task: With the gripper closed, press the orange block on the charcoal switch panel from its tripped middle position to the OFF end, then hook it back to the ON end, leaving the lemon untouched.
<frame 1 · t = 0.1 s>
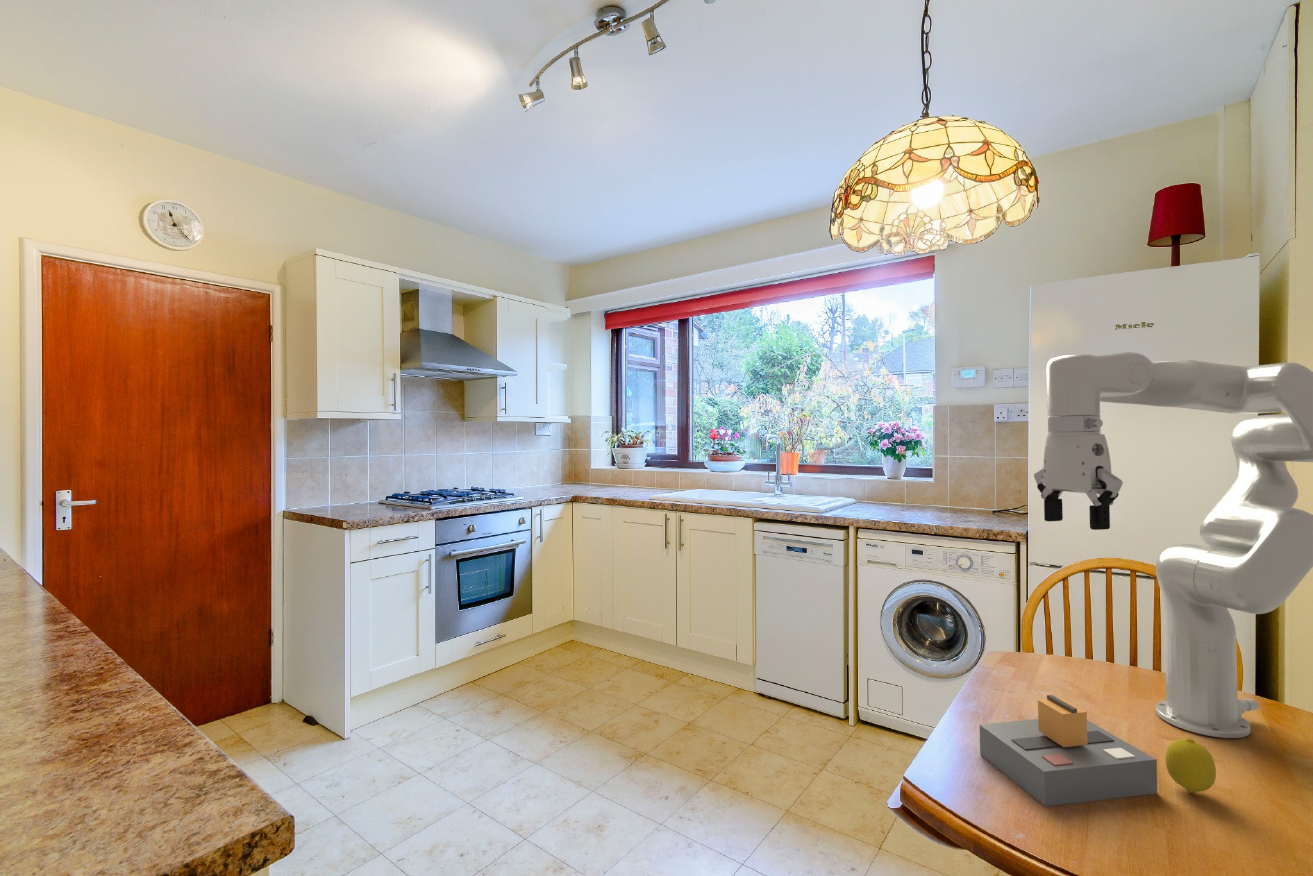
hand: (1075, 524, 105), 37 cm above the table, tool pointing down, fingers open, 9 cm apart
orange block: (1062, 719, 94), point 8 cm above the table, slide at 5.0 cm
lemon: (1190, 794, 88), on the table
switch panel: (1063, 772, 94), on the table
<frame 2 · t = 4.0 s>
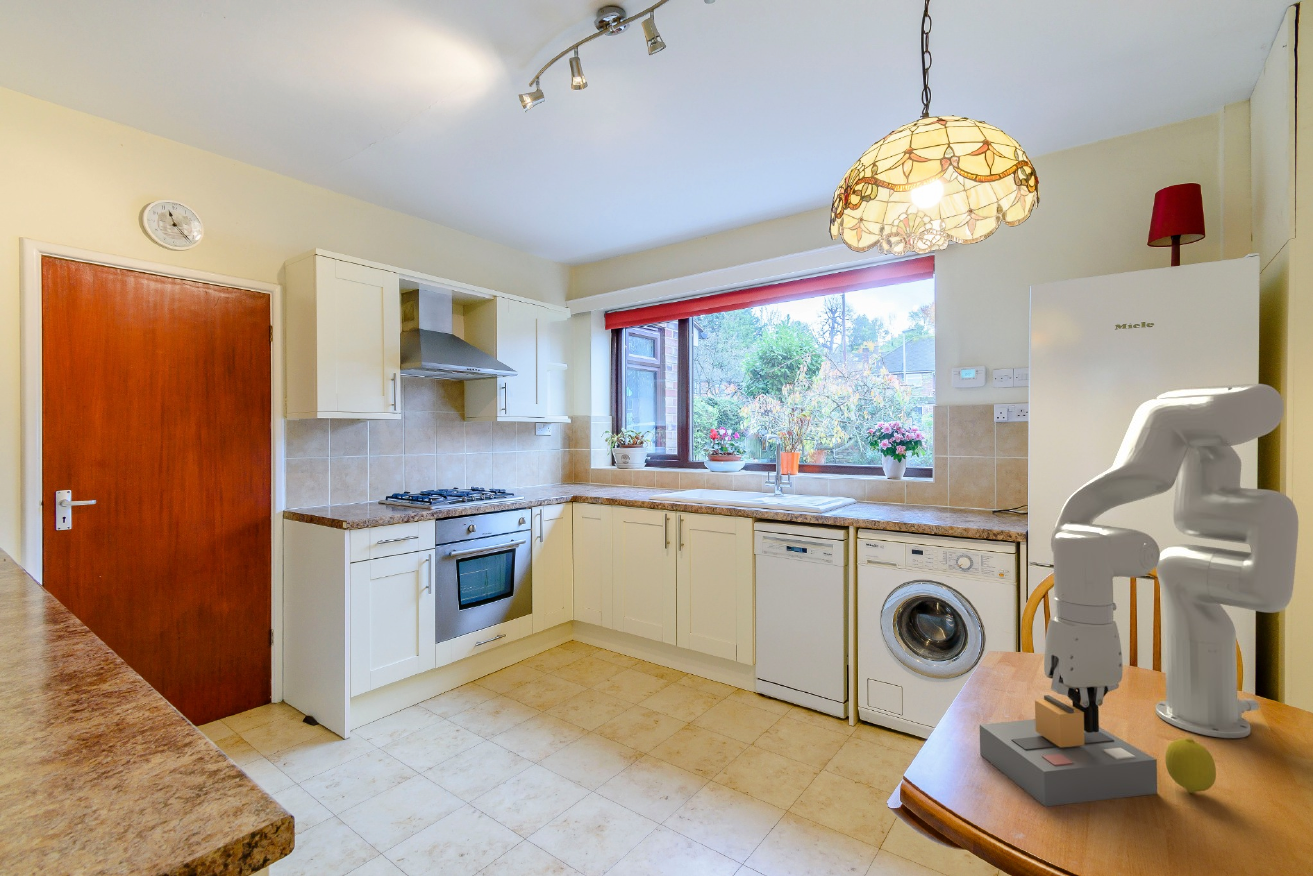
hand: (1085, 728, 94), 7 cm above the table, tool pointing down, fingers closed
orange block: (1059, 720, 93), point 8 cm above the table, slide at 5.5 cm, touching gripper
everything else where it was.
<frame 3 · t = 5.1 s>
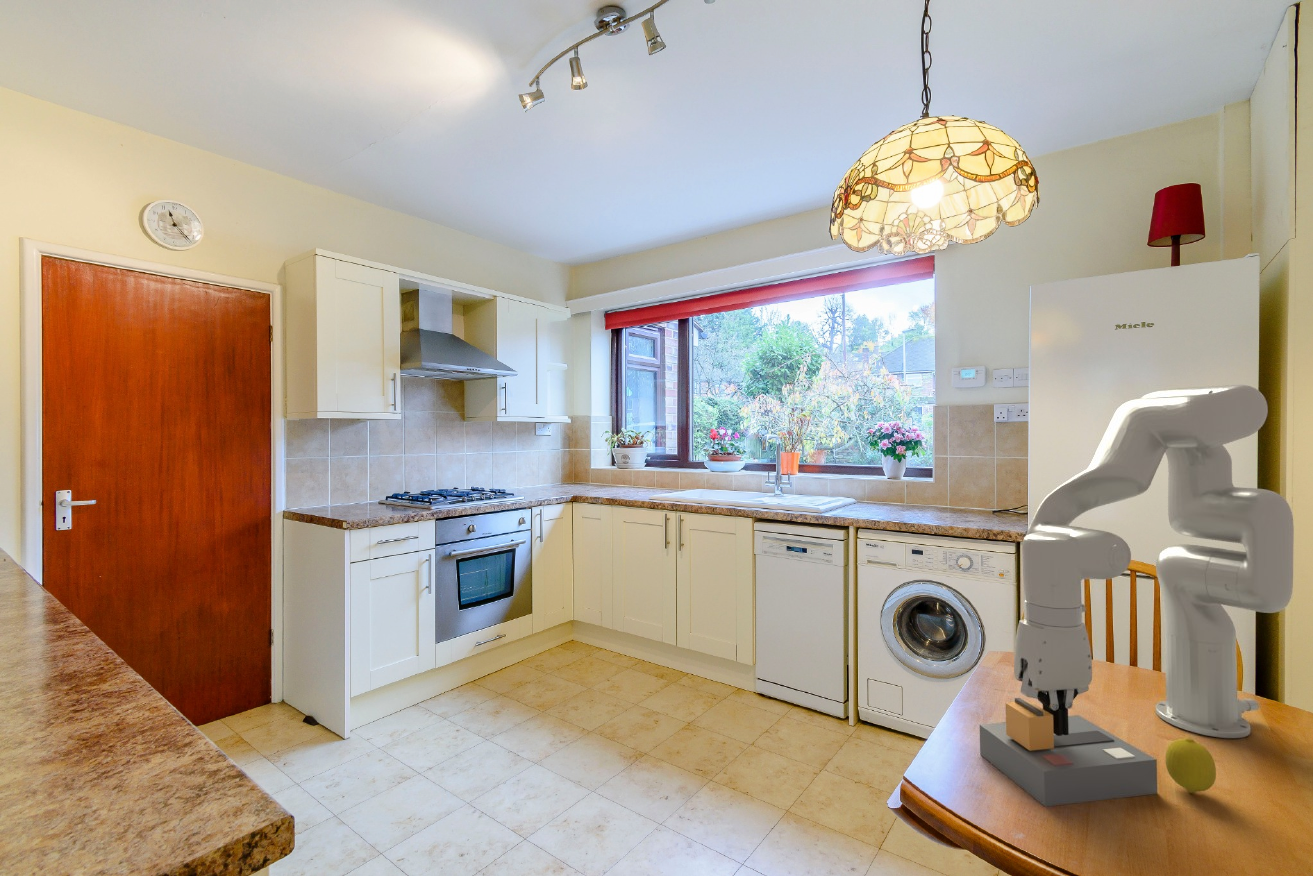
hand: (1055, 731, 93), 7 cm above the table, tool pointing down, fingers closed
orange block: (1029, 723, 93), point 8 cm above the table, slide at 10.6 cm, touching gripper
everything else where it was.
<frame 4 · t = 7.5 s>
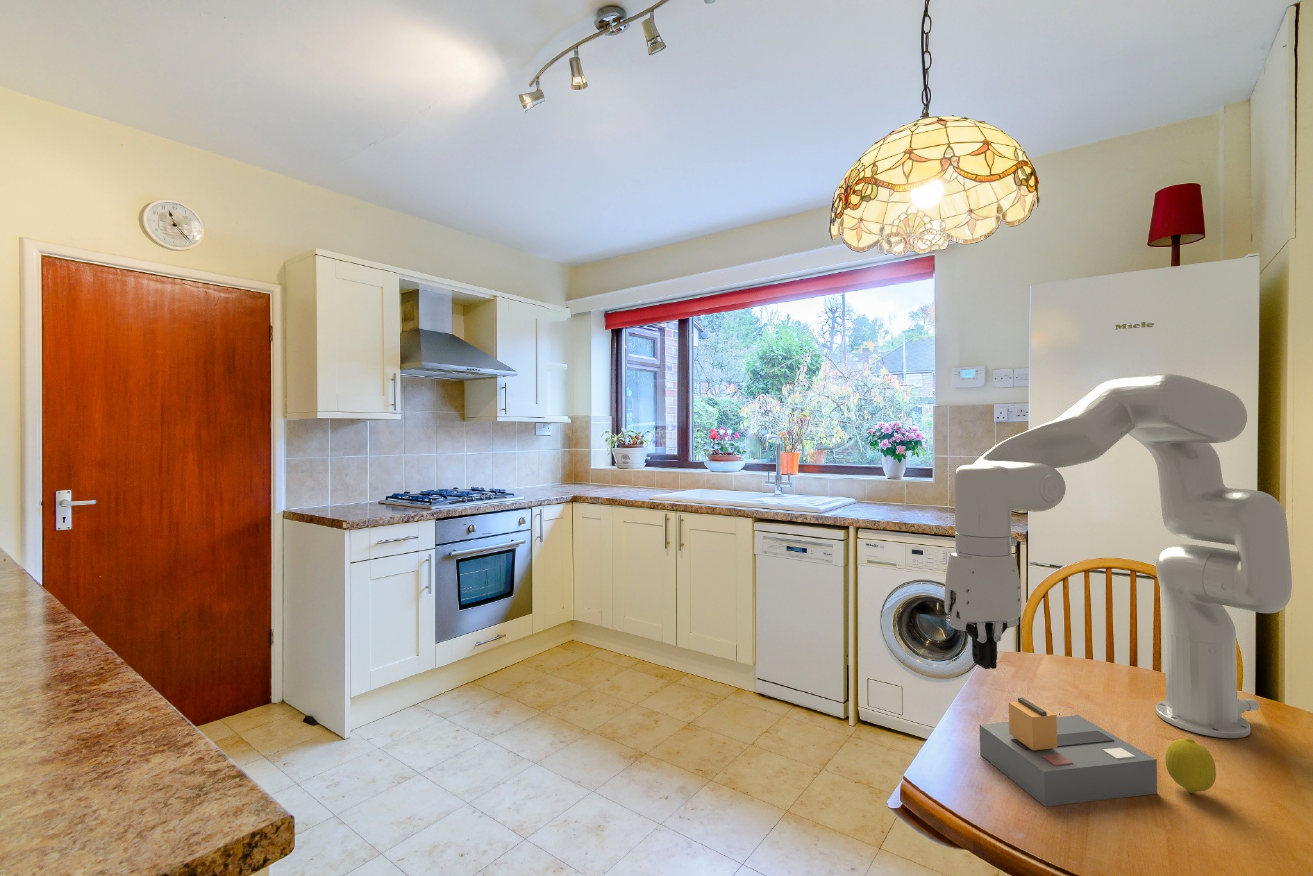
hand: (984, 665, 92), 18 cm above the table, tool pointing down, fingers closed
orange block: (1032, 722, 93), point 8 cm above the table, slide at 10.1 cm
everything else where it was.
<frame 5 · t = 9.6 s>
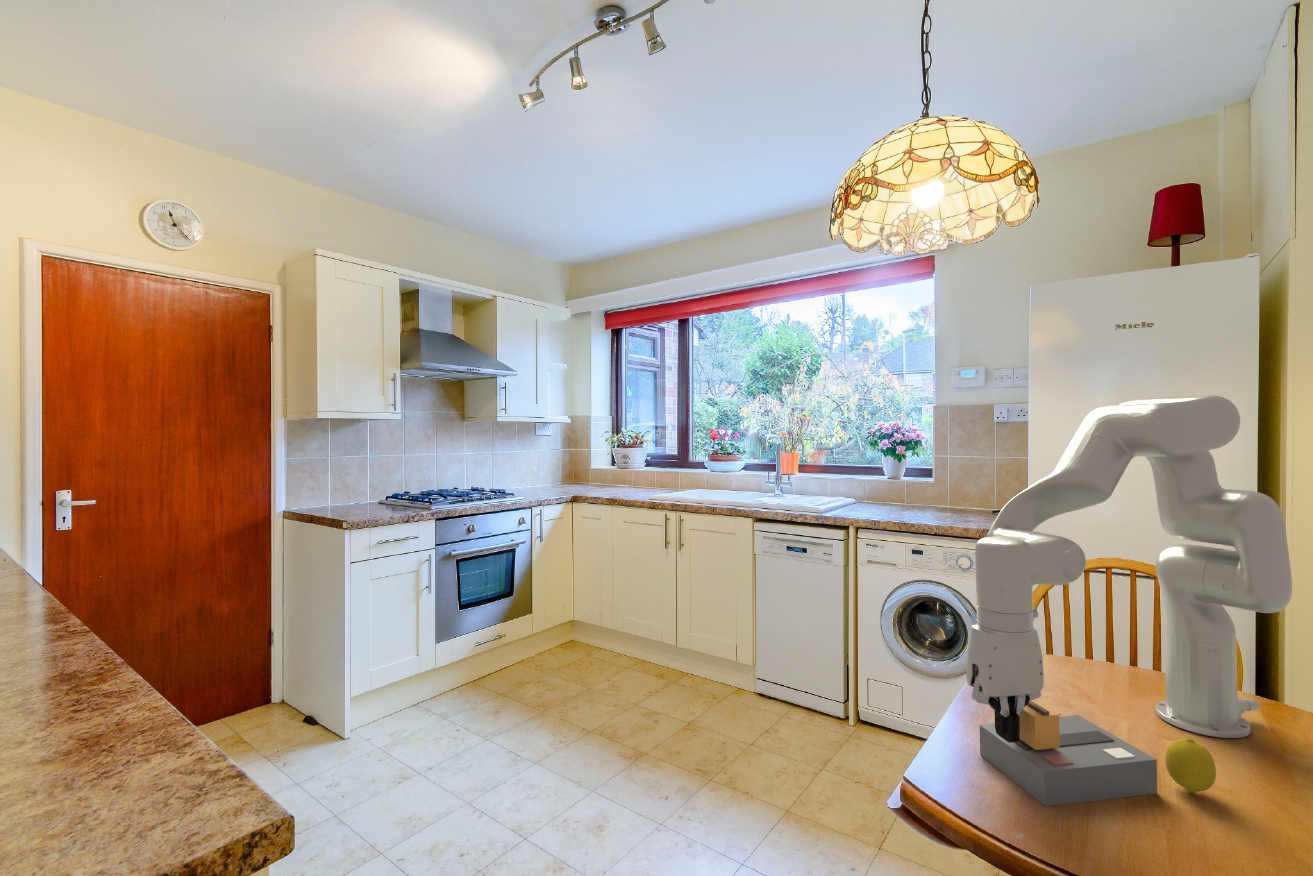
hand: (1007, 737, 92), 6 cm above the table, tool pointing down, fingers closed
orange block: (1034, 722, 93), point 8 cm above the table, slide at 9.6 cm, touching gripper
everything else where it was.
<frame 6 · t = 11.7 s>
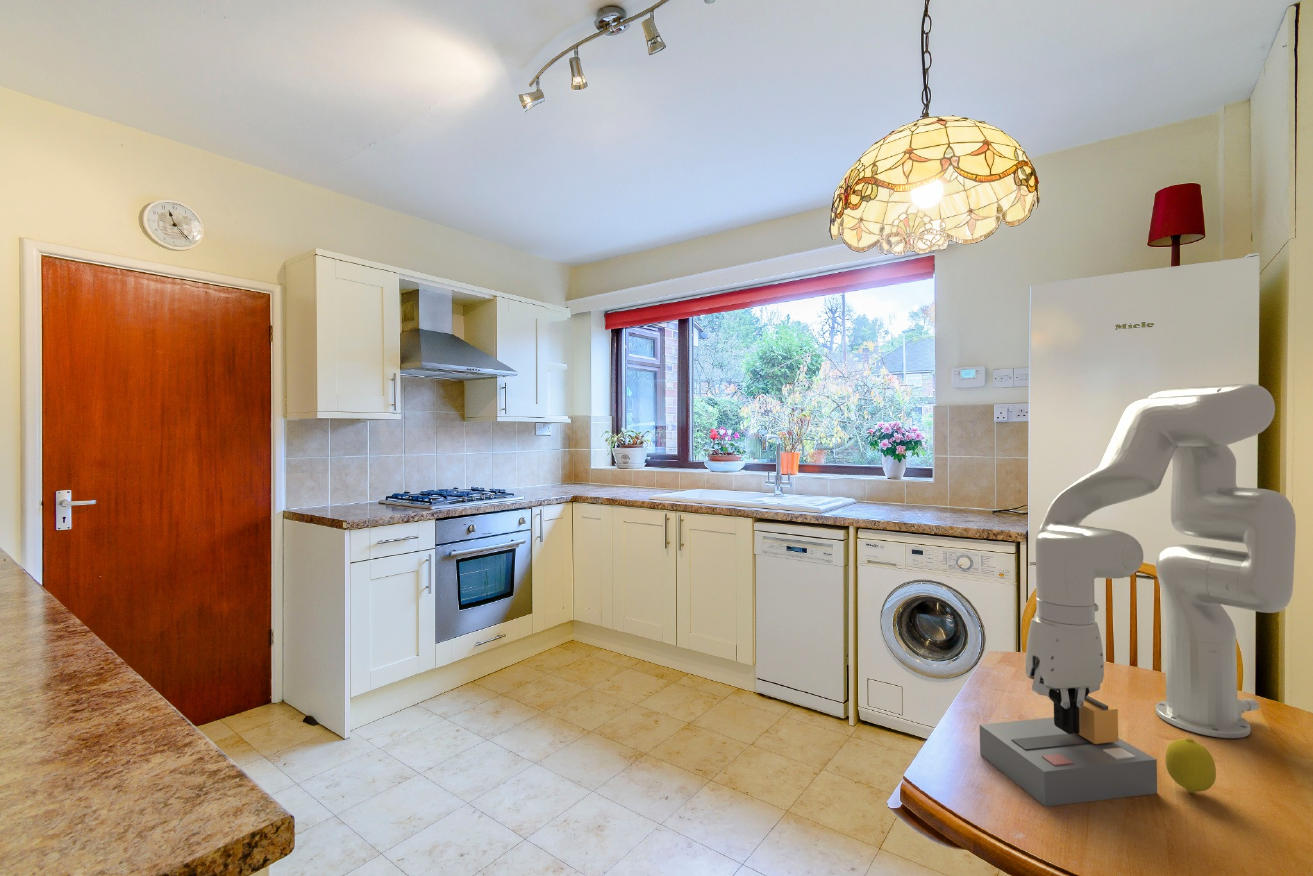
hand: (1066, 729, 94), 7 cm above the table, tool pointing down, fingers closed
orange block: (1092, 716, 94), point 8 cm above the table, slide at -0.2 cm, touching gripper
everything else where it was.
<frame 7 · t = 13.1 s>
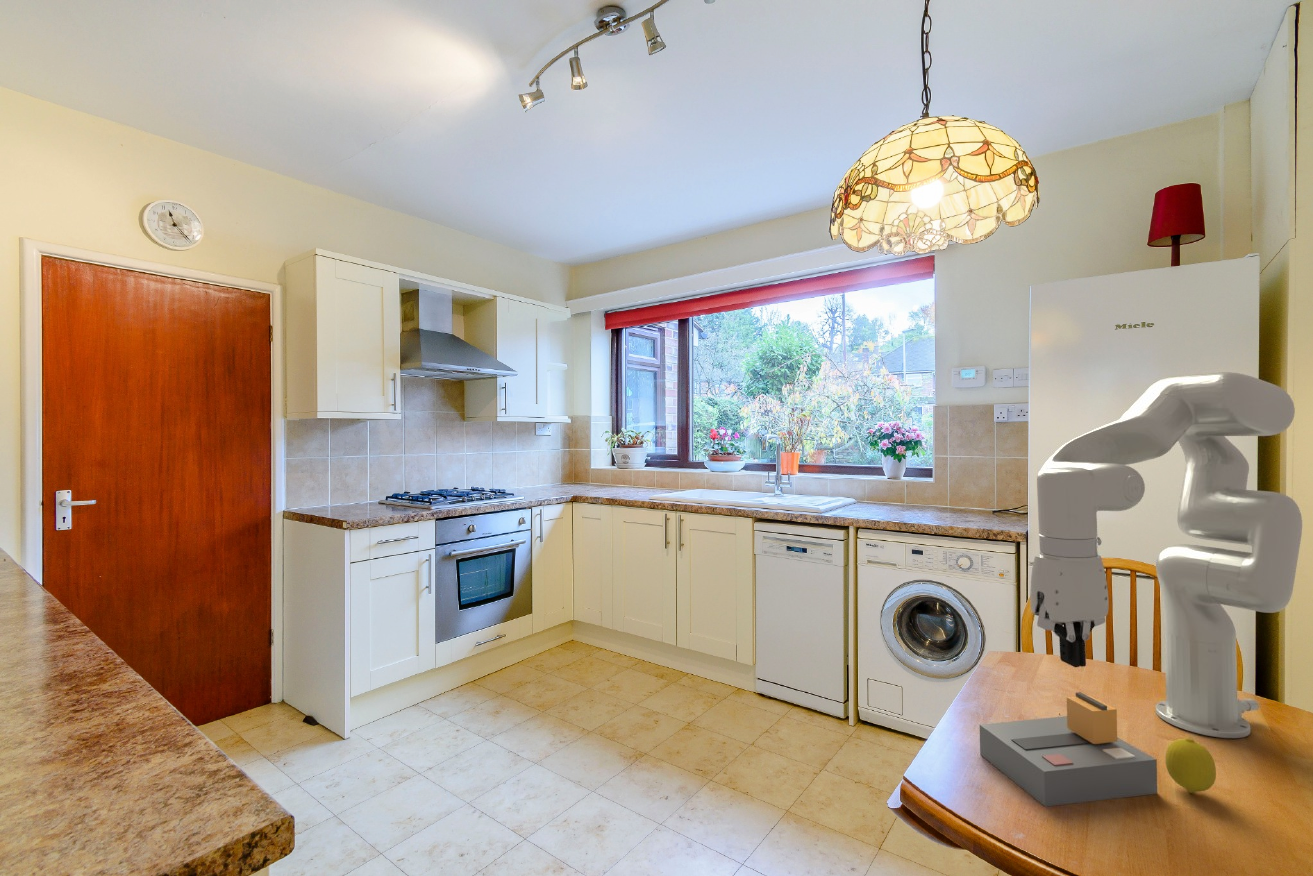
hand: (1073, 663, 94), 17 cm above the table, tool pointing down, fingers closed
orange block: (1091, 717, 94), point 8 cm above the table, slide at -0.1 cm
everything else where it was.
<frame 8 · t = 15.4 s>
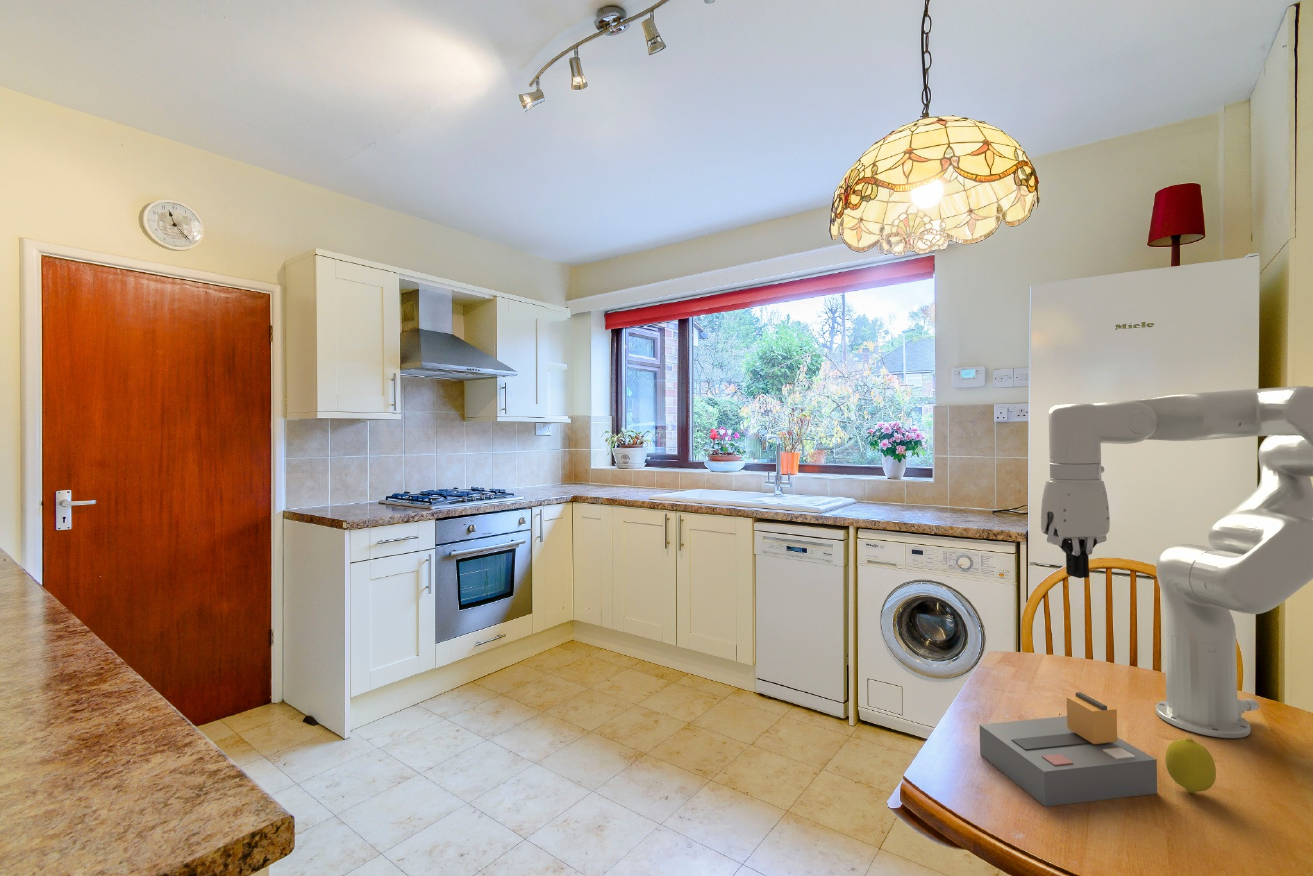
hand: (1077, 576, 107), 27 cm above the table, tool pointing down, fingers closed
nothing on the table moved.
at the end: orange block slide at -0.1 cm; lemon moved 0.2 cm from its start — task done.
